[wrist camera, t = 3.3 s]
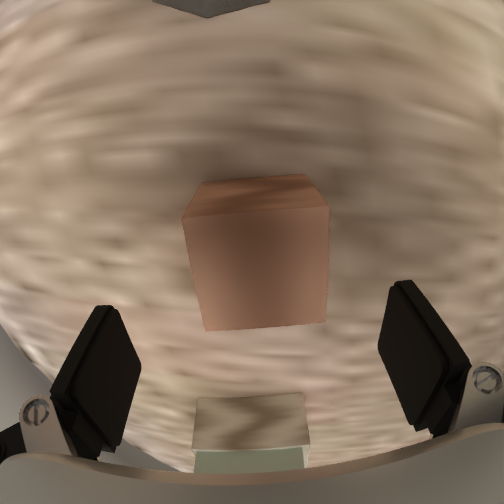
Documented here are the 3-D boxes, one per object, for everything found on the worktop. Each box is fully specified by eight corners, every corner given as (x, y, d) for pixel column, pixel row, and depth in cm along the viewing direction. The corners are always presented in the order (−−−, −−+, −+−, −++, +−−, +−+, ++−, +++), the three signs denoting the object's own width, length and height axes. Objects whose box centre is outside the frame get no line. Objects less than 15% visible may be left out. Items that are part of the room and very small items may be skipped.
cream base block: (302, 391, 26) (310, 444, 21) (299, 437, 31) (304, 479, 26) (198, 397, 27) (191, 449, 21) (216, 441, 31) (213, 483, 26)
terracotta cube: (304, 173, 17) (329, 206, 12) (306, 263, 20) (325, 321, 15) (202, 182, 17) (181, 218, 12) (215, 270, 20) (205, 331, 15)
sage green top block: (302, 446, 21) (309, 508, 16) (299, 478, 25) (304, 525, 20) (196, 451, 22) (190, 511, 16) (216, 482, 26) (214, 528, 20)
